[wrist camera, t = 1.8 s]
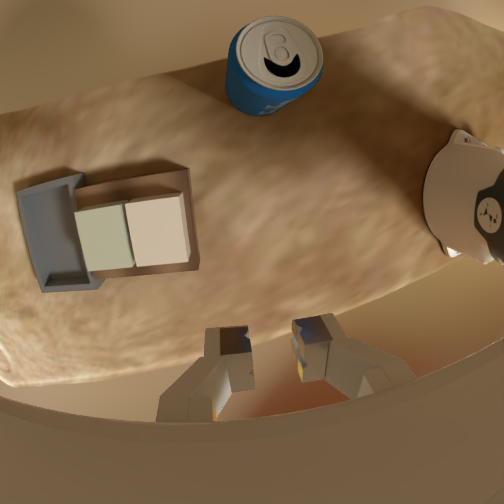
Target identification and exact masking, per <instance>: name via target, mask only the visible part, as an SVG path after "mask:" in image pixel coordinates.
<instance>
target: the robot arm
mask: <svg viewBox="0 0 504 504" xmlns="http://www.w3.org/2000/svg"><path fill="white" fill-rule="evenodd" d="M464 140H465V141H464ZM423 206H424V213H425V218H426V221H427V224H428V226H429V228H430V230H431V232H432V233H433V234H434V235H435V236H436V237H437V238H438V239H439V240H440V242H441V243H442V247H443V250H444V253H445V254H446V255H447V256H449V257H455V256H457V255H459V254H463V255H465V256H467V257H470V258H472V259H474V260H476V261H478V262H480V263H482V264H487V263H488V262H491V261H492V260H494V259H495V260H496V261H498V262H500V263H501V264H502V265H503V266H504V150H503V149H502V148H499V147H495V148H494V147H489V146H488V145H486V144H485V143H483V142H482V141H480V140H478V139H477V138H475V137H473V136H472V135H470V134H468V133H467V132H465V131H463V130H460V129H455V130H454V131H453V133H452V135H451V137H450V140H449V142H448V144H447V145H446V146H445V147H444V148H443V149H442V150H440V151H439V152H438V154H437V155H436V156H435V157H434V159H433V161H432V163H431V165H430V167H429V169H428V172H427V175H426V179H425V184H424V192H423ZM292 331H293V334H294V336H293V337H292V353H293V357H294V361H295V362H296V363H297V364H298V372H299V375H300V378H301V381H302V382H309V381H315V380H321V379H325V380H326V381H327V382H328V383H330V384H331V385H332V386H334V387H335V388H336V389H338V390H339V391H340V392H342V393H343V394H345V395H346V396H347V397H349V398H350V399H352V400H348V401H344V402H340V403H336V404H331V405H327V406H323V407H318V408H313V409H308V410H303V411H298V412H292V413H286V414H280V415H273V416H266V417H258V418H250V419H239V420H227V421H218V418H217V416H218V414H219V413H220V411H221V410H222V408H223V406H224V405H225V403H226V402H227V400H228V399H229V397H230V395H231V394H232V393H231V392H240V391H248V390H255V381H254V372H253V359H252V350H251V343H250V339H249V331H248V325H242V326H230V327H220V328H219V327H216V328H206V330H205V344H204V357H200V358H199V359H198V360H197V361H196V362H195V363H194V364H193V365H192V366H191V367H190V368H189V369H188V370H187V371H186V372H184V373H183V375H181V376H180V377H179V378H178V379H177V380H176V381H175V382H174V383H173V384H172V385H171V386H170V387H169V388H168V389H167V390H166V391H165V392H164V393H163V394H162V395H161V396H160V399H159V405H158V411H157V417H156V422H141V421H125V420H115V419H105V418H97V417H89V416H82V415H76V414H70V413H65V412H59V411H54V410H50V409H45V408H41V407H37V406H32V405H28V404H25V403H21V402H17V401H14V400H11V399H7V398H4V397H1V396H0V504H504V337H503V338H502V339H500V340H498V341H496V342H495V343H493V344H491V345H489V346H487V347H486V348H484V349H482V350H480V351H478V352H476V353H474V354H472V355H470V356H468V357H466V358H464V359H462V360H460V361H457V362H455V363H453V364H451V365H449V366H446V367H444V368H442V369H439V370H437V371H435V372H432V373H430V374H427V375H425V376H422V377H420V378H417V377H416V376H415V374H414V373H413V372H412V370H411V369H410V368H409V367H408V365H407V364H406V362H405V361H404V360H403V359H401V358H399V357H397V356H394V355H392V354H390V353H387V352H385V351H383V350H381V349H378V348H376V347H374V346H371V345H369V344H367V343H364V342H362V341H360V340H358V339H356V338H353V337H348V336H347V335H346V333H345V332H344V330H343V329H342V327H341V326H340V324H339V323H338V321H337V319H336V318H335V316H334V315H333V314H332V313H328V314H323V315H319V316H314V317H308V318H301V319H295V320H292Z"/></svg>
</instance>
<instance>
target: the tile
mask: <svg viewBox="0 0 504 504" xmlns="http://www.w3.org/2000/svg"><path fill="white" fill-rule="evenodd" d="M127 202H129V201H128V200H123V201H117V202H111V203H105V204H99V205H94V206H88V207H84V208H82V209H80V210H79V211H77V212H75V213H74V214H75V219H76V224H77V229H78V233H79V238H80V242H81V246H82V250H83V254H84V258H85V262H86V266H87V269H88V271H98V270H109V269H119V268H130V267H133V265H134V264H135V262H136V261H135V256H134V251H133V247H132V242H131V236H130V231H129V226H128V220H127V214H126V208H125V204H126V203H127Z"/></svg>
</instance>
